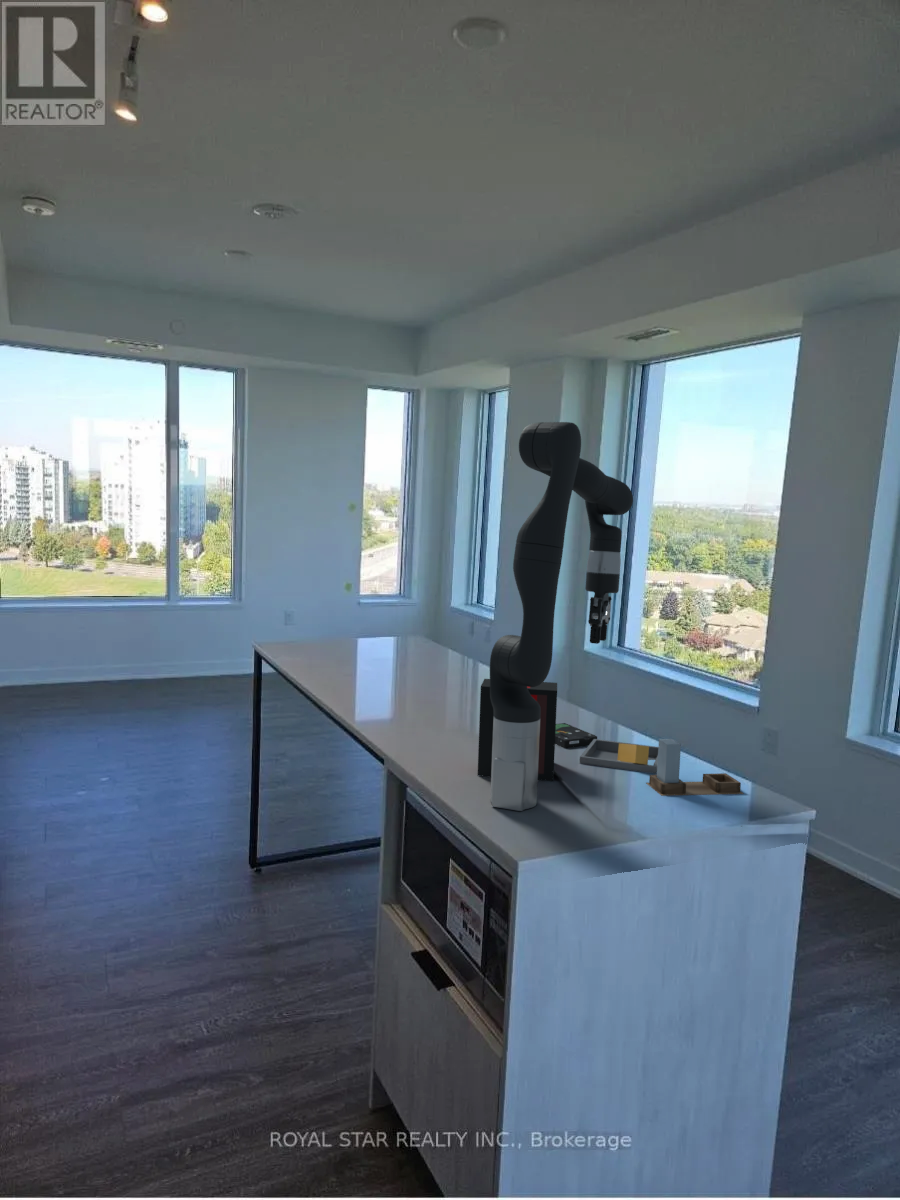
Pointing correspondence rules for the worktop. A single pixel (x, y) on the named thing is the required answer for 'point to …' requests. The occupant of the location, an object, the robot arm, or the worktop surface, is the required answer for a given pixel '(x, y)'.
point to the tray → (615, 756)
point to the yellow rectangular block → (633, 753)
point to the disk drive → (572, 736)
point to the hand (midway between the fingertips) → (598, 641)
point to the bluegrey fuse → (668, 761)
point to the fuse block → (698, 786)
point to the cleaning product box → (548, 705)
